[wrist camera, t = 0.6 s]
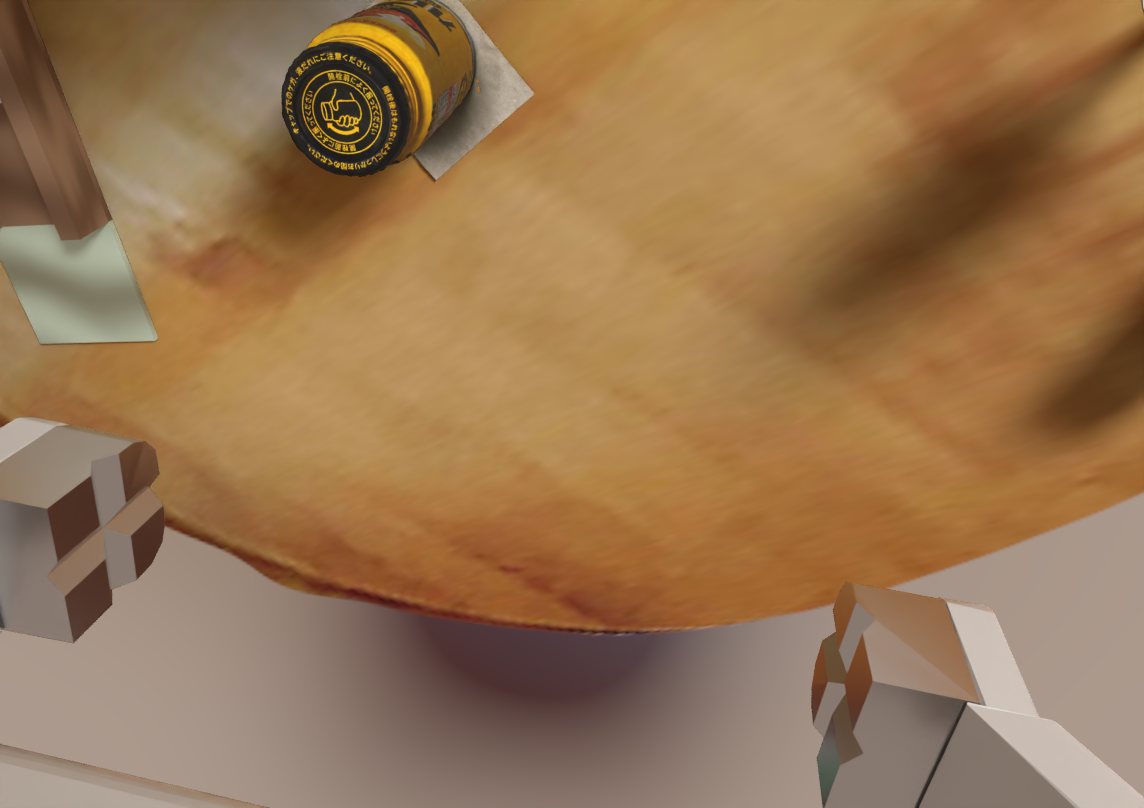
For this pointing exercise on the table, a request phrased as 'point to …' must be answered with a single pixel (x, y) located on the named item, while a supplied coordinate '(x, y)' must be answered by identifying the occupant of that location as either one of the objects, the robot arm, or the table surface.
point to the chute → (56, 206)
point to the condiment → (398, 88)
